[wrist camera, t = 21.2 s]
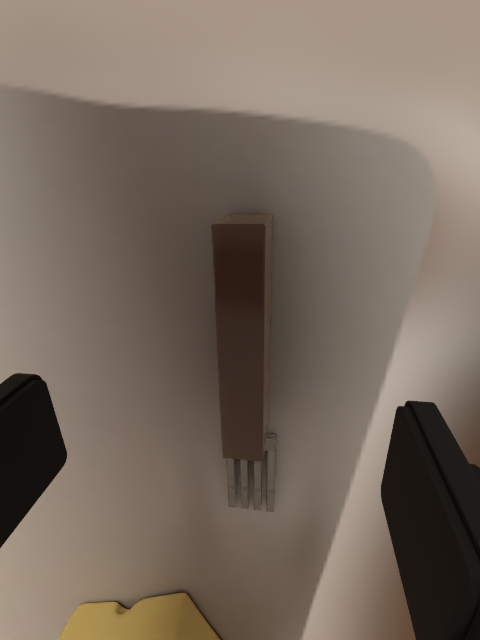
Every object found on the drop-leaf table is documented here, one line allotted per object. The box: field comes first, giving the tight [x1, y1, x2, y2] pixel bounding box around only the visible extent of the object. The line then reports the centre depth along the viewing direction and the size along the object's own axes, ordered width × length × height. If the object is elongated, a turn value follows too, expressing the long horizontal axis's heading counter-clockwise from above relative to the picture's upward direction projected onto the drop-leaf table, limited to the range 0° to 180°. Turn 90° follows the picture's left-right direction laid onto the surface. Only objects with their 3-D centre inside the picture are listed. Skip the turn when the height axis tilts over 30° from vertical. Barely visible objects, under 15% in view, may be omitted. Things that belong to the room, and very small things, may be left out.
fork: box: [212, 214, 276, 512], centre depth 16 cm, size 3×16×3 cm, turn 1°
